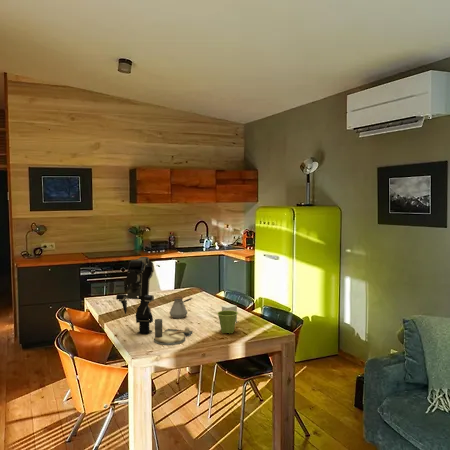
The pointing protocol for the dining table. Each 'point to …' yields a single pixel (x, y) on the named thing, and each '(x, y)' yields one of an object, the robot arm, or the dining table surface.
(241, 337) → the dining table surface
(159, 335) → the disc
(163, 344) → the base
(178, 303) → the coffee pot
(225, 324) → the plant pot
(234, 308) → the small box
